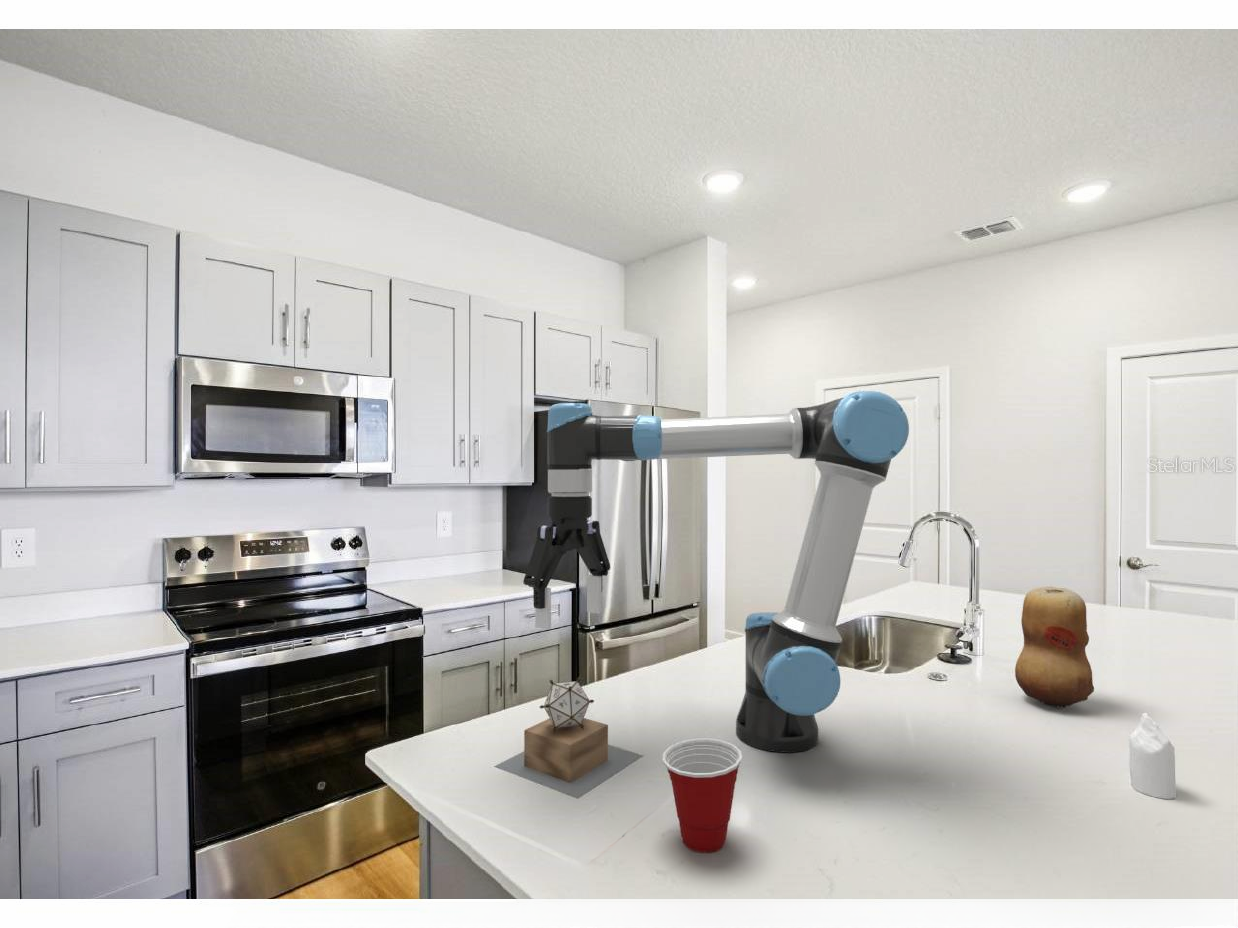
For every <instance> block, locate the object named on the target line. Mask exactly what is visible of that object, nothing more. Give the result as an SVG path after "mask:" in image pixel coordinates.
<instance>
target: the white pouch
mask: <svg viewBox="0 0 1238 928" xmlns="http://www.w3.org/2000/svg"><path fill="white" fill-rule="evenodd" d="M1175 750H1176V749H1175V746H1174V745H1173V744H1172V742H1171V740H1170V739H1169V737H1168V736H1167V735H1166V733H1165V732H1163V730H1162V728H1161V727H1160V725H1158V724H1157V723H1156V722H1155V721H1154V720H1153V718H1151V716H1149V714H1148V713H1147V712H1144V713H1142V715H1141V717H1140V719H1139V723H1138V725H1137V727H1136V728H1135V730H1133V732H1132V733H1131V734H1130V736H1129V756H1128V757H1129V761H1128V762H1129V764H1128V766H1129V775H1130V785H1131V787H1132V788H1133V790H1135V791H1136V792H1139V793H1141V794H1144V795H1146V796H1149V797H1153V798H1156V799H1162V800H1163V799H1164V800H1174V799H1176V797H1177V791H1176V789H1177V788H1176V786H1177V785H1176V754H1175V752H1176V751H1175Z"/></svg>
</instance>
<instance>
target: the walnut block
mask: <svg viewBox="0 0 1238 928" xmlns="http://www.w3.org/2000/svg"><path fill="white" fill-rule="evenodd" d="M582 725H583V726H584V729H582V728H581V727H580V725H578V726H569V727H560V728H556V731H555V732H554V733H553V728H554V725H553V723H552V721H551V720H550V718H547V719H545V720H543V721H541V722H539V723H536V724H534V725H532V726H530V727H528V728H526V729H524V731H523V732H524V734H523V735H524V736H523V737H524V741H523V742H524V743H523V744H524V745H523V747H524V749H523V751H524V766H525V767H528V768H531V769H534V770H536V771H539V772H542V773H544V774H547V775H550V776H553V777H555V778H558V779H561V780H563V781H566V782H569V783H571V782H573V781H574V780H576V779H578V778H579V777H581V776H583V775H584V774H586V773H587V772H589V771H591V770H592V769H594V768H596V767H597V766H599V765H601V764H602V763H604V762H605V761H607V760H608V745H609V724H606V723H604V722H603V723H602V722H600V721H596V720H593V719H589V718H585V717H584V719H583V721H582Z"/></svg>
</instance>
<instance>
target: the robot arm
mask: <svg viewBox="0 0 1238 928" xmlns="http://www.w3.org/2000/svg"><path fill="white" fill-rule="evenodd" d="M547 416H548V417H547V430H546V434H547V435H546V436H547V438H546V439H547V440H546V442H547V443H546V445H547V446H546V447H547V448H546V449H547V452H546V453H547V492H548V493H549V494H551V495H549V496H548V498H547V517H548V518H549V519H551V525H538V526H537V531H536V540H535V543H534V545H533V550H532V552H531V555H530V558H529V559H530V560H529V562H528V565H527V568H526V571H525V574H524V577H523V580H522V581H523V582H522V583H523V584H524V585H525V586H528V587H529V588H532V590H533V591H532V592H533V608H534V609H535V610H534V611H535V613H534V616H535V617H534V618H535V623H534V627H535V628H536V629H537V628H538V629H543V630H550V629H552V588H551V587H548V586H549V583H550V581H551V579H552V577H553V575H554V574H555V571H556V569H557V567H558V565H559V563H560V562H561V559H562V557H563V556H564V555H565V554H566V553H567V552H570V551H573V550H576V551H577V553H578V555H579V556H580V558H581V560H582V562H583V563H584V564H585V567H586V568H587V570H588V571H589V574H588V575H586V613H593V614H598V615H599V614H602V613H603V612H602V611H603V610H602V608H603V607H602V601H603V600H602V597H603V595H602V593H603V576H604V577H606V576H608V574H609V571H610V570H611V563H610V560H609V557H608V554H607V551H606V548H605V545H604V540H603V538H602V534H601V528H600V527H601V526H600V522H599V520H588V519H589V518H591V517H592V515H593V498H592V496H590V495H589V494H590V493H592V492H593V472H592V471H593V470H592V465H593V464H592V462H593V460H597V461H601V460H606V461H607V460H612V461H614V460H615V461H623V462H635V461H648V460H650V461H653V460H668V459H669V460H670V459H671V460H672V459H689V458H692V459H693V458H696V459H697V458H718V457H742V456H743V457H744V456H763V455H765V456H767V455H768V456H769V455H770V456H771V455H789V456H791V457H792V458H793V459H795V460H798V459H799V460H800V459H803V460H805V459H813V460H814V464H815V466H816V468H817V470H818V471H819V474H820V477H819V481H818V484H817V489H816V490H815V495H814V499H813V503H812V506H811V511H810V514H809V517H808V521H807V526H806V529H805V532H804V536H803V539H802V543H801V546H800V547H801V548H800V551H799V555H798V559H797V562H796V566H795V569H794V573H793V577H792V581H791V583H790V588H789V591H788V594H787V598H786V601H785V606H784V609H783V610H782V611H780V612H754V613H751V614H749V615H747V617H746V618H745V627H744V632H745V692H744V695H743V699H742V701H741V704H740V706H739V707H740V708H739V711H738V713H737V716H736V721H735V726H736V727H735V733H736V736H737V738H738V739H739V740H740V741H742V742H743V743H745V744H747V745H748V746H751V747H754V748H757V749H761V750H764V751H771V752H778V753H779V752H780V753H797V752H803V751H807V750H810V749H812V748H814V747H815V746H816V745H818V743H819V726H818V722H817V719H816V717H815V715H816V714H818V713H820V712H822V711H825V710H826V709H828V707H830V706H831V705H832V704H833V703H834V701H835V700H836V698H837V697H838V695H839V692H840V688H841V674H840V669H839V666H838V665H837V660H838V656H839V654H840V649H841V645H842V641H843V638H842V636H841V634H840V632H839V631H838V629H837V626H836V625H837V623H838V619H839V615H840V611H841V607H842V603H843V600H844V596H845V592H846V589H847V586H848V582H849V578H850V575H851V571H852V567H853V564H854V560H855V556H856V552H857V548H858V546H859V541H860V538H861V534H862V530H863V527H864V524H865V520H866V515H867V512H868V509H869V505H870V501H871V499H872V494H873V490H874V489H875V487H876V486H878V485H880V484H881V483H884V482H886V479H887V477H888V472H889V470H890V465H891V462H892V459H893V458H895V457H896V456H897V455H899V454H900V452H901V451H902V450H903V449H904V447H905V445H906V444H907V440H908V438H909V434H910V433H909V431H910V426H909V419H908V416H907V414H906V412H905V411H904V408H903V407H902V405H901V404H900V403H899V402H898V401H897V400H895V398H893V397H892V396H890V395H888V394H886V393H883V392H880V391H875V390H867V391H866V390H862V391H861V390H860V391H855V392H854V391H853V392H851V393H849V394H847V395H845V396H844V397H840V398H836V399H834V400H831V401H828V402H825V403H821V404H818V405H817V404H816V405H813V406H808V407H807V406H806V407H793V408H792V409H790V411H789V412H787V413H779V414H778V413H777V414H776V413H775V414H754V415H737V416H736V415H735V416H734V415H733V416H712V417H691V418H690V417H687V418H670V419H669V418H667V419H661V418H660V417H659V416H656V415H646V414H645V415H644V414H639V415H605V416H604V415H602V416H601V415H594V414H593V411H592V407H591V405H590V404H588V403H580V402H579V403H578V402H577V403H576V402H575V403H574V402H564V403H563V402H561V403H555V404H552V405H551V406H550V407H549V409H548V412H547Z"/></svg>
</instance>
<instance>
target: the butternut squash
mask: <svg viewBox="0 0 1238 928" xmlns="http://www.w3.org/2000/svg"><path fill="white" fill-rule="evenodd" d="M1021 629H1022V634H1023V648H1022V650H1021V652H1020V654H1019V656H1018V658H1017V660H1016V662H1015V668H1014V672H1015V673H1014V675H1015V680H1016V683H1017V684H1018V686H1019V687H1020V688H1021V691H1023V693H1024V694H1025V695H1026V696H1027V697H1029V698H1031V699H1035V700H1036V701H1039V702H1040V703H1042V704H1044V705H1045V706H1049V707H1054V708H1061V709H1062V708H1063V709H1065V708H1066V707H1070V706H1072V705H1075V704H1078V703H1081V702H1084V701H1088V698H1089V697H1090V696H1091V695H1092V694H1093V693H1094V692H1095V687H1094V683H1093V682H1094V681H1093V670H1092V667H1091V666H1092V665H1091V664H1090V662H1089V659H1088V656H1087V653H1086V652H1087V651H1086V647H1087V645H1088V644H1089V642H1090V637H1089V634H1088V631H1087V630H1088V621H1087V606H1086V602H1085V600H1084V599H1083V598H1082V597H1081V595H1079V594H1078V593H1076V592H1075V591H1073V590H1072V589H1067V588H1066V587H1065V588H1064V587H1054V586H1044V587H1043V586H1042V587H1038V588H1033V589H1032V590H1030V591H1028V592H1027V593H1026V594H1025V596H1024V599H1023V604H1022V611H1021Z"/></svg>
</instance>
